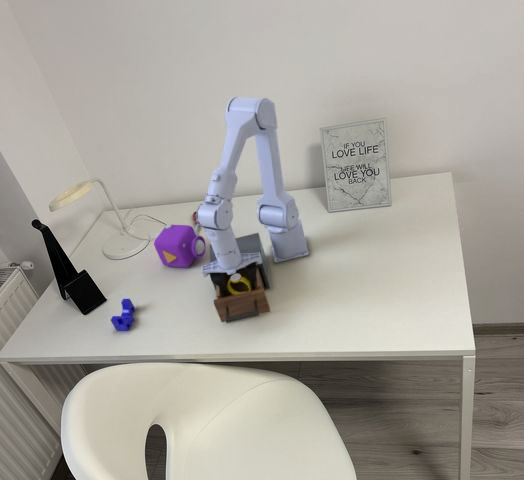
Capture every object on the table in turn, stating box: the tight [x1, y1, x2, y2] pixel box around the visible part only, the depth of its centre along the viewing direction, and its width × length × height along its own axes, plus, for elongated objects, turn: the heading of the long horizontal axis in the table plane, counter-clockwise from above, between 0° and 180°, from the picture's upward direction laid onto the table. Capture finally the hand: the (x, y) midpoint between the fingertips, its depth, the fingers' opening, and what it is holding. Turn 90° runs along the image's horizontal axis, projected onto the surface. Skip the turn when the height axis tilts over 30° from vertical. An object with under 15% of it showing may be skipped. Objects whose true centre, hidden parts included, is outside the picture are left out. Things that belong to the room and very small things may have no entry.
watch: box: [227, 274, 252, 295], centre depth 135 cm, size 6×3×6 cm, turn 76°
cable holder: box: [110, 298, 136, 332], centre depth 145 cm, size 8×4×4 cm, turn 164°
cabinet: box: [209, 232, 271, 294], centre depth 145 cm, size 14×14×9 cm
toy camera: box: [153, 223, 207, 268], centre depth 157 cm, size 11×14×10 cm
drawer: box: [213, 267, 271, 324], centre depth 135 cm, size 17×12×7 cm
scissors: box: [192, 210, 200, 234], centre depth 171 cm, size 5×14×1 cm, turn 172°
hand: (240, 289), depth 136 cm, fingers closed on watch, 6 cm apart
